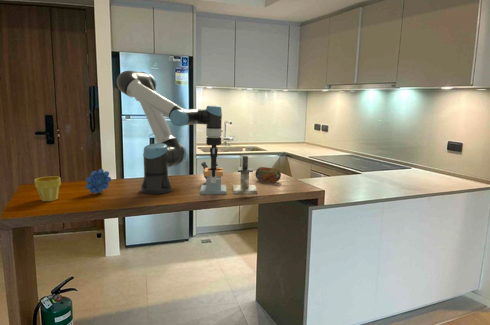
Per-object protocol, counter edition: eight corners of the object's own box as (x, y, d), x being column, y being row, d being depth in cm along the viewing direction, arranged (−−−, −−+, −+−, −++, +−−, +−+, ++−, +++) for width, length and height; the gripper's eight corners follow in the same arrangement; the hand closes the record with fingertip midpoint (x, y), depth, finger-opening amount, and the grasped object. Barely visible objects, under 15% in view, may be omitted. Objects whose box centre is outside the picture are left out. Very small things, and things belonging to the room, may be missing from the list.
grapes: (110, 189, 180) (109, 166, 178) (112, 193, 175) (111, 169, 173) (85, 192, 175) (83, 168, 173) (86, 195, 169) (85, 171, 167)
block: (200, 194, 176) (200, 180, 175) (201, 187, 189) (201, 174, 188) (226, 194, 177) (226, 180, 176) (226, 187, 190) (226, 174, 189)
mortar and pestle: (218, 180, 207) (218, 159, 205) (222, 184, 198) (223, 162, 196) (199, 181, 203) (199, 160, 201) (202, 185, 195) (202, 163, 193)
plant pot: (33, 199, 162) (31, 178, 160) (57, 195, 169) (56, 175, 167) (39, 204, 154) (38, 182, 153) (65, 199, 162) (63, 178, 160)
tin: (255, 180, 209) (255, 166, 207) (257, 179, 211) (257, 165, 210) (279, 183, 202) (280, 169, 201) (281, 182, 205) (281, 168, 204)
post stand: (233, 193, 179) (233, 158, 176) (232, 187, 191) (233, 154, 188) (257, 193, 180) (258, 158, 177) (254, 187, 192) (255, 154, 188)
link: (204, 176, 177) (204, 171, 176) (205, 172, 186) (205, 167, 185) (222, 176, 177) (222, 171, 177) (222, 172, 187) (222, 167, 186)
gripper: (221, 139, 168) (220, 185, 172) (221, 134, 189) (221, 176, 193) (205, 139, 167) (205, 185, 171) (207, 134, 189) (207, 175, 193)
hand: (213, 180), depth 182 cm, fingers closed on link, 9 cm apart
